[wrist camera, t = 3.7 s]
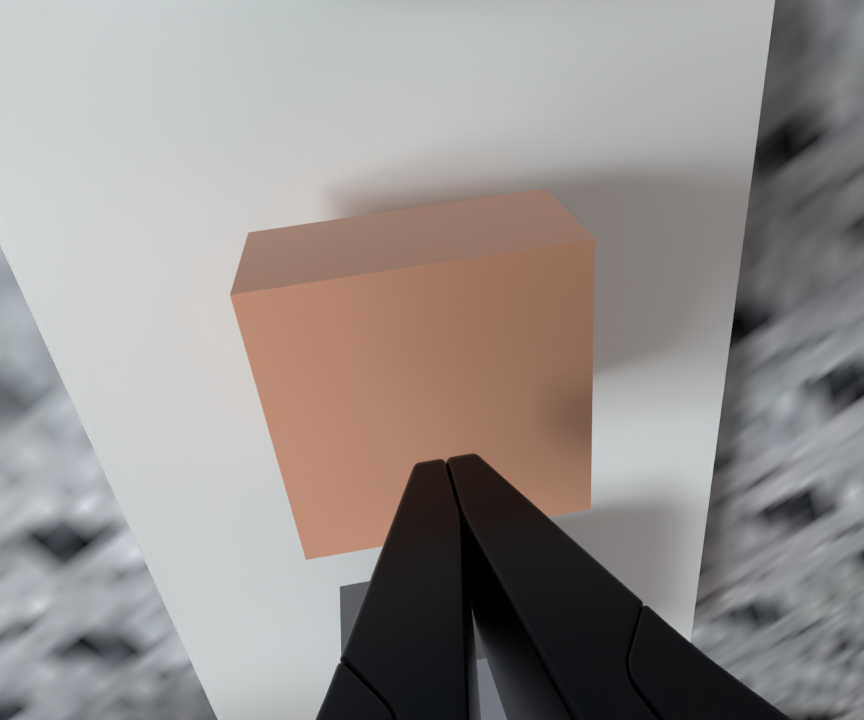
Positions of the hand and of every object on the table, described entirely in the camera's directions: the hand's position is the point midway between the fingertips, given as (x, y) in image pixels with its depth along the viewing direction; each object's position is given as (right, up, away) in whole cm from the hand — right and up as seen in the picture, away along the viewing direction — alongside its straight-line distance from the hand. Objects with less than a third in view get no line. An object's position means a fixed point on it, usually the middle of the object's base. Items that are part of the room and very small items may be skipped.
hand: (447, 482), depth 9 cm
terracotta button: (-1, +2, +3) cm, 4 cm away
